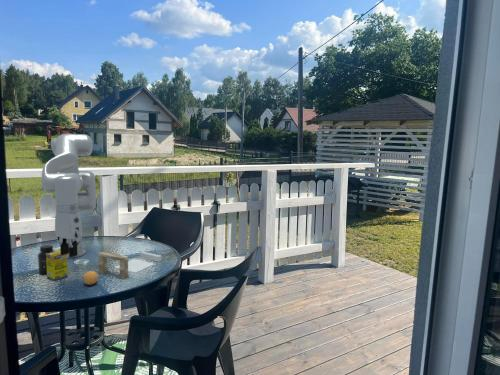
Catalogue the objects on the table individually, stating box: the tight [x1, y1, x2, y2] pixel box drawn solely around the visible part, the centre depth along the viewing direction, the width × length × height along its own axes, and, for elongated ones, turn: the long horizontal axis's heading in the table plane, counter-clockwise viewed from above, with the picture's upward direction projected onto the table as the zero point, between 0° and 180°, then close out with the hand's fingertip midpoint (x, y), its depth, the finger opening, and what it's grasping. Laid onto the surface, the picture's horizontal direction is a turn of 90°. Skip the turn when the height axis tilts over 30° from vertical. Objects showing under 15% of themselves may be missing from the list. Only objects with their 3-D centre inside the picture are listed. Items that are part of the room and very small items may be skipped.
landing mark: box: [113, 258, 155, 274], centre depth 176 cm, size 13×13×1 cm
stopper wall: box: [139, 251, 163, 263], centre depth 185 cm, size 2×12×2 cm, turn 63°
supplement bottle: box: [37, 244, 54, 276], centre depth 163 cm, size 7×7×12 cm
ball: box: [83, 270, 99, 286], centre depth 153 cm, size 6×6×6 cm
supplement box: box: [46, 250, 69, 282], centre depth 159 cm, size 6×6×11 cm
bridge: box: [97, 250, 129, 280], centre depth 163 cm, size 3×14×9 cm, turn 63°
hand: (69, 254), depth 143 cm, fingers open, 4 cm apart
